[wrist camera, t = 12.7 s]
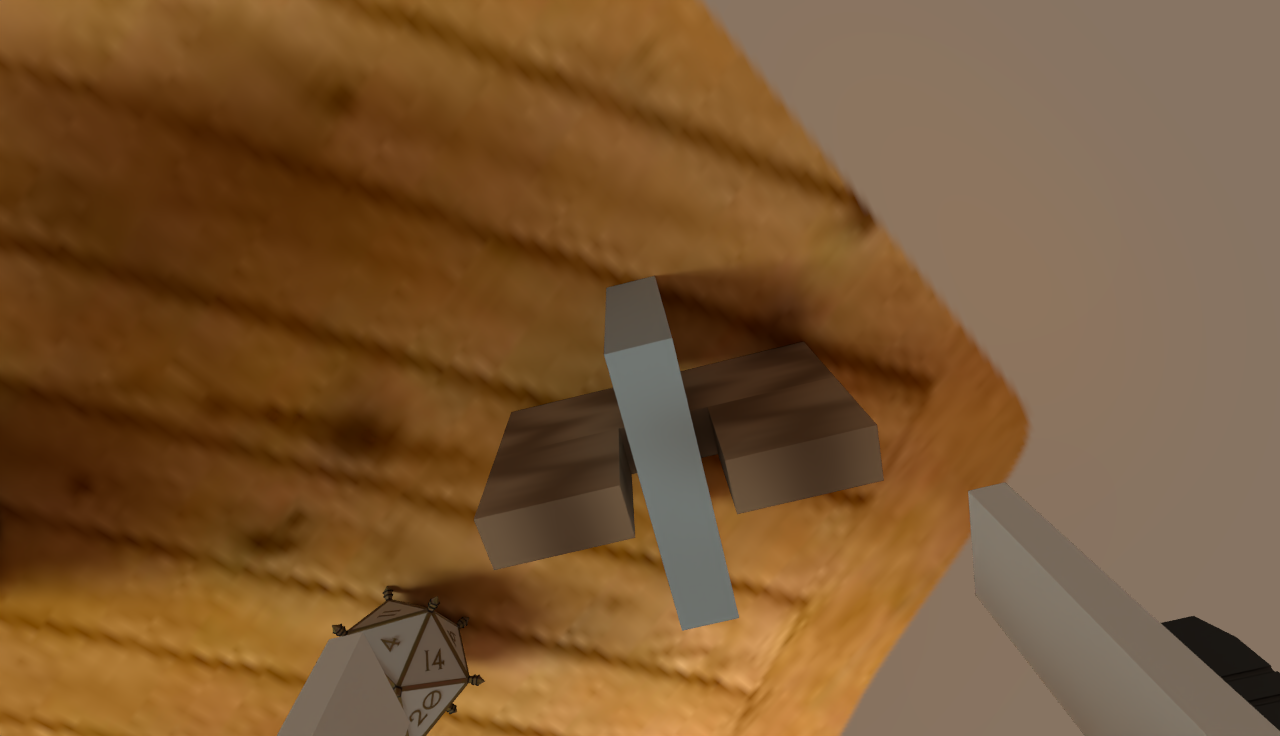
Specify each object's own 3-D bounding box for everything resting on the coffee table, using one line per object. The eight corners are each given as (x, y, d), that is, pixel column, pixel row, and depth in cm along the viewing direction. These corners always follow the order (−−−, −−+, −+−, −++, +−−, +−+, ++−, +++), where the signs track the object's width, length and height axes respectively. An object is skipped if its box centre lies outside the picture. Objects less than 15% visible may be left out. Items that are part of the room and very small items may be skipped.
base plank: (525, 452, 35) (494, 570, 26) (511, 412, 34) (473, 519, 25) (810, 384, 35) (883, 480, 25) (803, 341, 34) (877, 425, 24)
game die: (434, 554, 42) (439, 564, 33) (498, 669, 42) (521, 711, 32) (295, 637, 38) (257, 675, 29) (363, 763, 38) (347, 841, 29)
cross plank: (664, 502, 37) (682, 630, 28) (606, 287, 32) (603, 354, 23) (706, 492, 37) (739, 617, 27) (654, 275, 32) (672, 337, 23)
